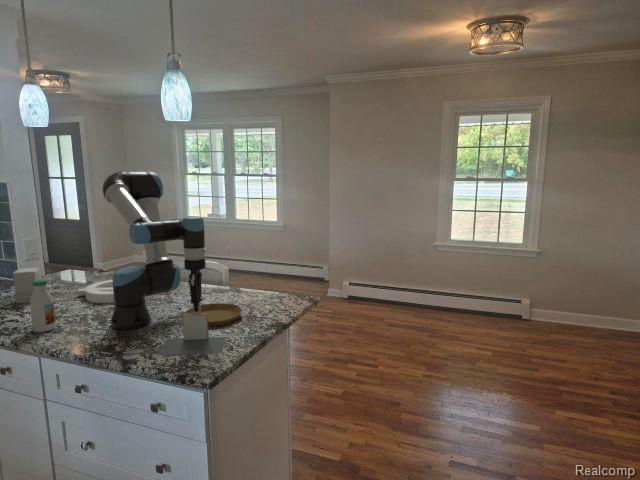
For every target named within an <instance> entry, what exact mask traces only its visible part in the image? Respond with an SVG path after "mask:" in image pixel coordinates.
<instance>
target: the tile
mask: <svg viewBox="0 0 640 480" xmlns="http://www.w3.org/2000/svg"><path fill="white" fill-rule="evenodd" d="M182 332H183V338H184V340H207V339H209V338H210V336H209V326H208V313H199V314H185V313H183V314H182Z"/></svg>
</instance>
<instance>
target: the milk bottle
mask: <svg viewBox="0 0 640 480" xmlns="http://www.w3.org/2000/svg"><path fill="white" fill-rule="evenodd" d="M47 286H48V282H47V279H44V278H43V279H42V278H41V280H35V281H33V287H34V291H33V294H32V297H31V300H30V302H29V305H30V306H29V307H30V317H31V326H32V331H33V332H35V333H45V332H50V331H53V330H54V329H55V328H56V327H57V326H56V323H57V322H56V314H55V305H54V299H53V296H52V294H51V293H50V292H49V290H48V288H47Z"/></svg>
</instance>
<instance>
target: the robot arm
mask: <svg viewBox="0 0 640 480" xmlns="http://www.w3.org/2000/svg"><path fill="white" fill-rule="evenodd" d="M163 190H164V186H163V181H162V179H161V178H160V176H159V175H158V173H155V172H152V171H117V172H114V173H112V174H110V175H108V177H106V179H105V180H104V182H103V184H102V194H103V196H104V199H106V201H107V202H108V203H109V204H111V205H113V206H114V208H116V210H117V211H118V213H119V214H120V215H121V216H122V218H123V219H124V221H125V222H126V223H127V224H128V226H129V229H128V232H129V233H128V234H129V239H130V240H131V242H132V243H133V244H135V245H140V244H141V245H143V246H144V251H145V256H146V262H145V263H144V265H143V266H144V267H143V266H141V265H131V266H130V265H129V266H125V267H122V268H119V269H118V270H115V272H113V275H112V280H113V283H112V285H113V292H114V308H113V312H112V314H111V319H110V325H111V328H112V329H114V330H118V331H128V330H135V329H141V328H143V327H146V326H148V325H149V324H150V323H151V322H152V316H151V314H150V311H149V308H148V306H147V303H146V297H149V296H154V295H160V294H165V293H167V294H168V293H169V292H172V291H173V292H174V291H176V290H177V289H178V288H179V286H180V283H181V279H182V278H181V275H182V274H181V269H180V267H179V265H178V264H177V263H174V262H173V259H172V258H171V257H169V255H168V250H167V245H166V242H169V241H179V240H182V242H183V258H184V260H183V262H184V269H185V270H186V271H190V274H189V275H188V279H189V280H188V284H189V290H190V291H189V293H190V302H189V303H190V304H192V308H193V314H199V313H201V305H202V304H201V302H202V301H204V300H203V298H202V275H203V273H202V271H201V270H204V269H206V258H205V257H206V252H207V249H206V248H205V246H206V245H205V244H206V243H205V237H206V236H205V223H204V218H203V217H202V216H196V215H195V216H193V215H191V216H184V217H183V218H181V219H180V218H173V219H171V220H165V221H163V220H162V221H161V216H160V212H159V211H160V210H159V205H158V204H159V203H160V201H161V198H162V196H163V195H164V194H163V193H164V191H163Z"/></svg>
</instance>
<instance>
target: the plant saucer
mask: <svg viewBox="0 0 640 480" xmlns="http://www.w3.org/2000/svg"><path fill="white" fill-rule="evenodd" d="M242 311H243V310H242V308H241V307H240V306H238V305H235V304H231V303H224V302H223V303H222V302H221V303H219V302H218V303H217V302H216V303H207V304H201V313H208V327H217V326H222V325H226V324H227V325H228V324H229V323H232V322H234V321H236V320H237V319H238V318H239V317H240V316H241V314H242ZM184 314H193V307H191V308H188V309H187V310H186V311H185V312H184Z"/></svg>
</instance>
